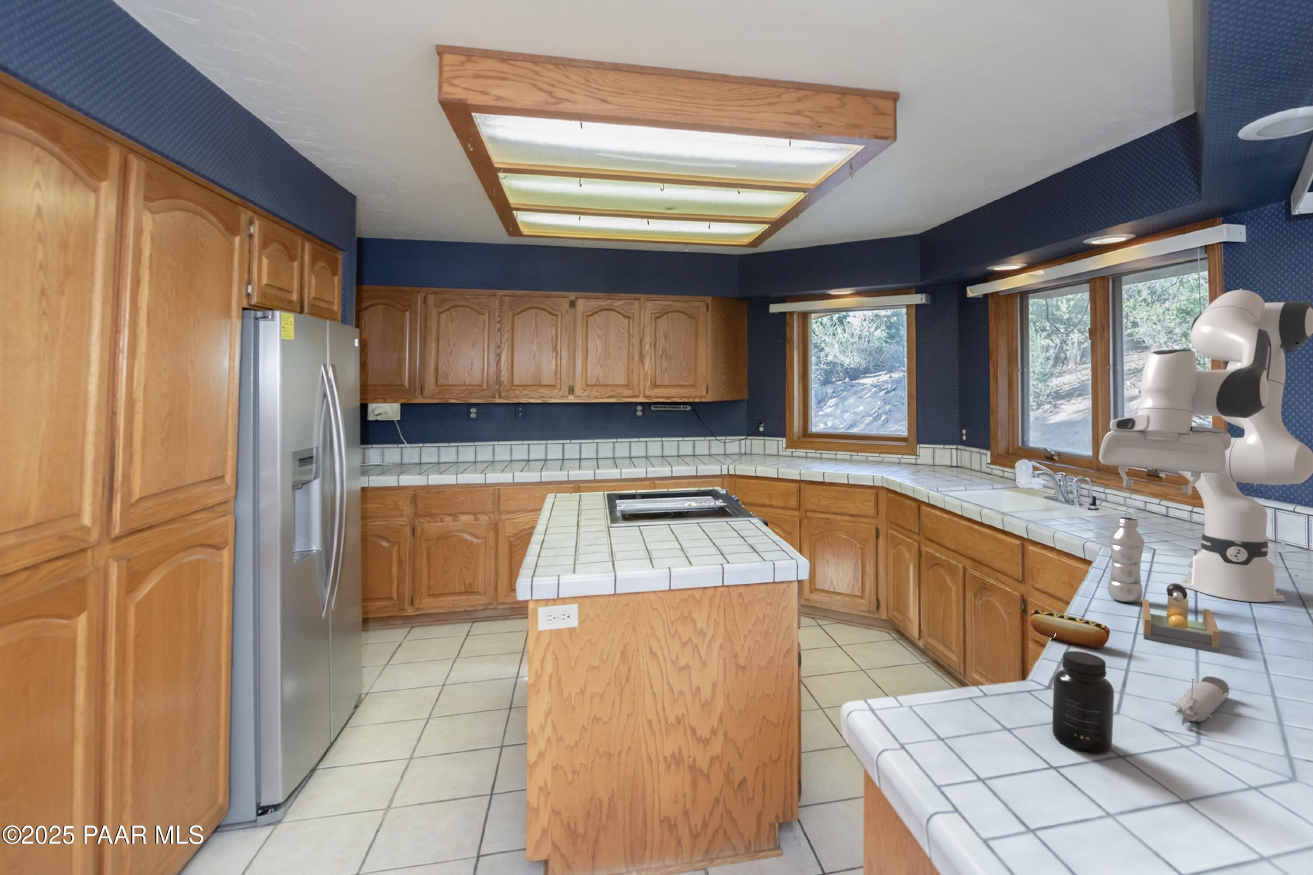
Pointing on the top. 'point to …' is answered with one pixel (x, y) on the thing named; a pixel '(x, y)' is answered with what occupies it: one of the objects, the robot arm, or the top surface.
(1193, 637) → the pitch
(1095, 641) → the hot dog
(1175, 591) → the glass stem black base
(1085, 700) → the supplement bottle
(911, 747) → the top surface
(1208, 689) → the torpedo
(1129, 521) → the plastic bottle
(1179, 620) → the ball
